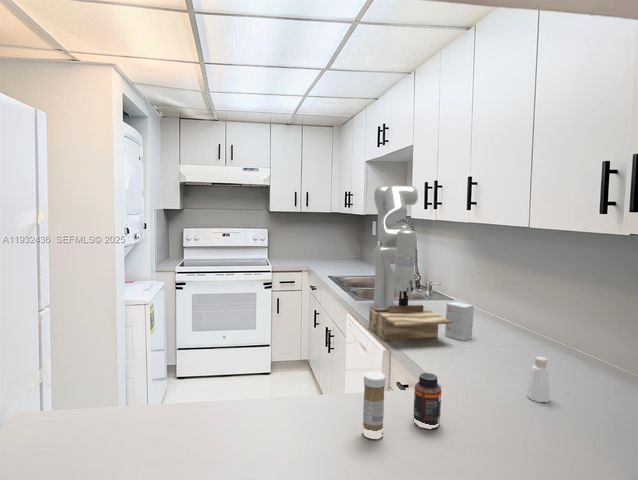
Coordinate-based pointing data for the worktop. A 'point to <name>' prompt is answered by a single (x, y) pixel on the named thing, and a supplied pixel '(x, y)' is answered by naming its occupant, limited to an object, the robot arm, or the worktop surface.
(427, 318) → the mailer lid
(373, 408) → the sprinkles bottle
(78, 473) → the worktop surface
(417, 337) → the mailer box
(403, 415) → the worktop surface
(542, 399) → the pepper shaker
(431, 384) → the supplement bottle
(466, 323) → the small box
